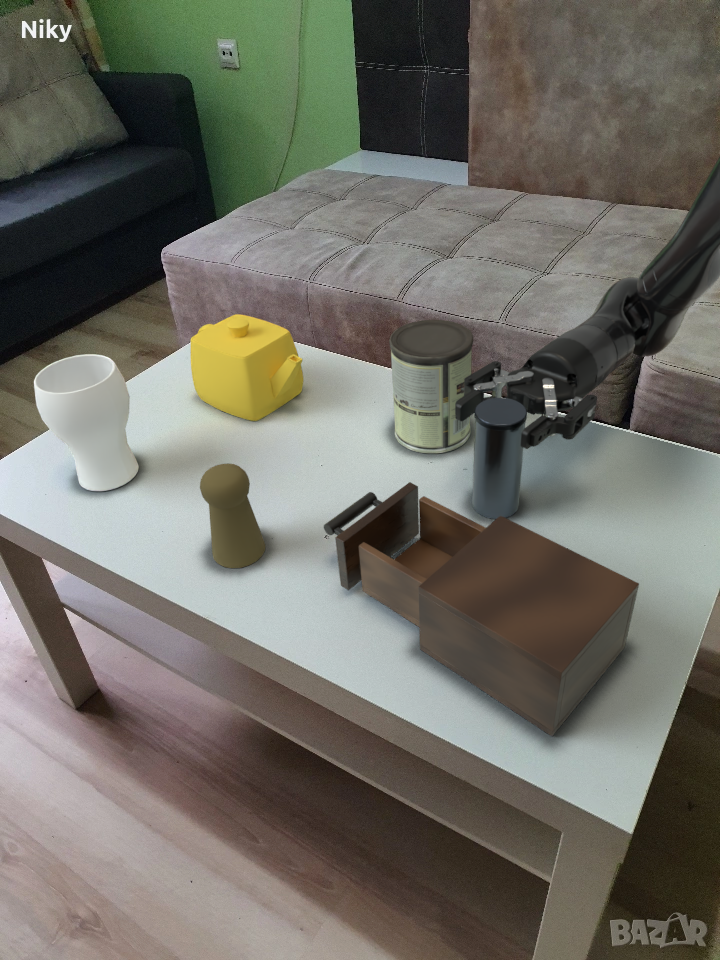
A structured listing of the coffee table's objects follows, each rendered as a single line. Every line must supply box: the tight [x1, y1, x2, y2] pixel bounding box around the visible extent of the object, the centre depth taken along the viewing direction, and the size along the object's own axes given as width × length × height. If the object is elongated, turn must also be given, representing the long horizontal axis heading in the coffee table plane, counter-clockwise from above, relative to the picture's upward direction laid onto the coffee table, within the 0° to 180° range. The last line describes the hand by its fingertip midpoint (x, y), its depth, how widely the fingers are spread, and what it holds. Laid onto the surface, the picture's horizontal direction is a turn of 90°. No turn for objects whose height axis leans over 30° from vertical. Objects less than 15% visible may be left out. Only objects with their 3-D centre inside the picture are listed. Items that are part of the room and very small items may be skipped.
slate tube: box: [471, 397, 528, 520], centre depth 85 cm, size 6×6×13 cm
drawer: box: [323, 482, 487, 628], centre depth 77 cm, size 18×11×7 cm, turn 47°
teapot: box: [190, 313, 304, 422], centre depth 108 cm, size 20×12×12 cm, turn 51°
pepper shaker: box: [199, 463, 267, 569], centre depth 82 cm, size 6×6×11 cm
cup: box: [33, 353, 139, 492], centre depth 94 cm, size 11×11×15 cm
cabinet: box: [418, 516, 640, 737], centre depth 69 cm, size 15×13×9 cm
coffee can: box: [388, 319, 474, 454], centre depth 97 cm, size 10×10×14 cm
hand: (490, 426), depth 80 cm, fingers open, 8 cm apart
